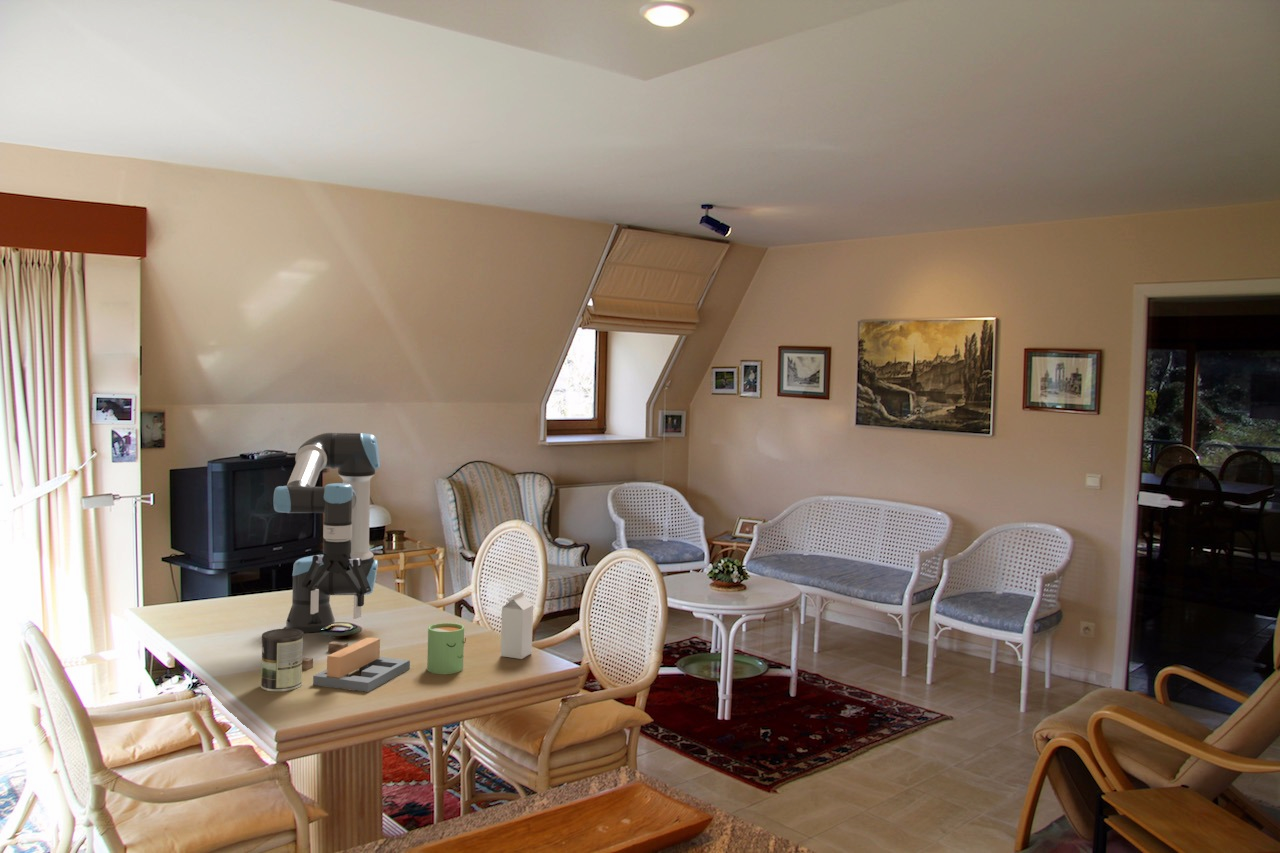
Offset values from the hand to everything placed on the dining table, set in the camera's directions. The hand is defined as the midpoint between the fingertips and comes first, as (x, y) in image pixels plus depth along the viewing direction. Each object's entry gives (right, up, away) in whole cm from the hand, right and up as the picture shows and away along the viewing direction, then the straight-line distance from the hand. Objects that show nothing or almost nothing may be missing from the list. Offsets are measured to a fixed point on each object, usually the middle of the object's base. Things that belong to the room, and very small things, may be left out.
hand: (335, 615), depth 259 cm
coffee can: (-10, -16, -12) cm, 23 cm away
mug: (+30, -17, +9) cm, 35 cm away
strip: (+6, -16, -1) cm, 17 cm away
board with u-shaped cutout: (+8, -17, -2) cm, 18 cm away
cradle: (-8, -15, +13) cm, 22 cm away
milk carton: (+47, -17, +24) cm, 55 cm away
